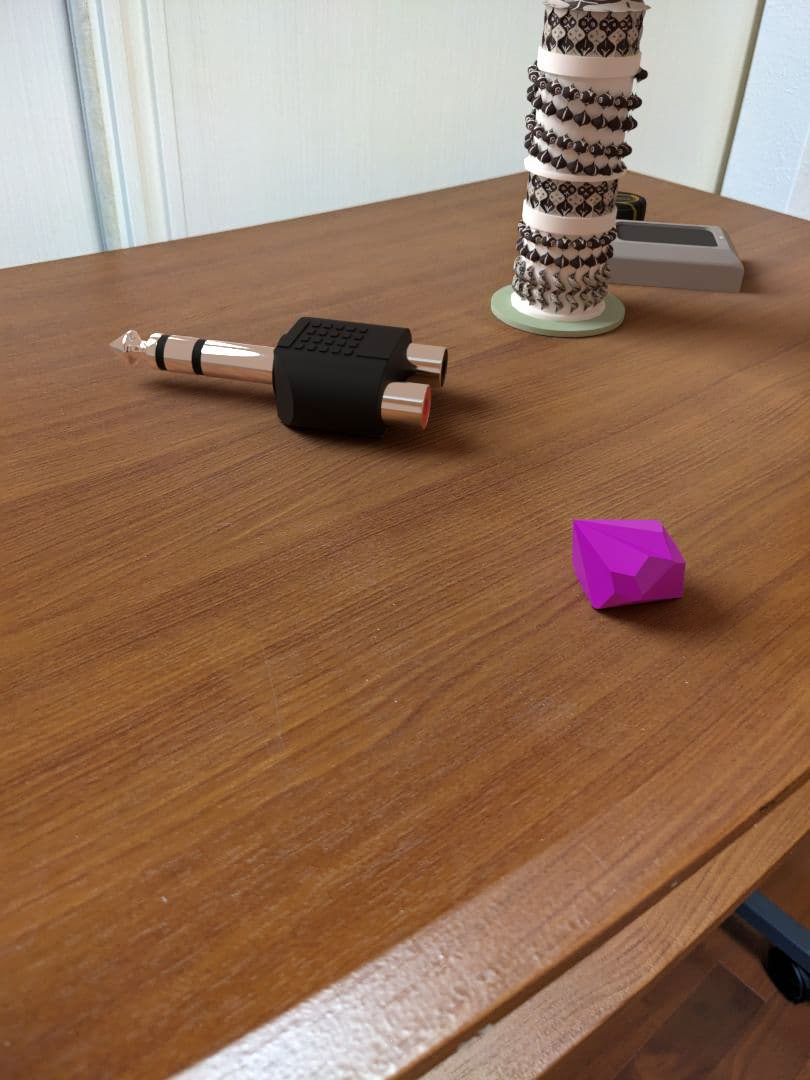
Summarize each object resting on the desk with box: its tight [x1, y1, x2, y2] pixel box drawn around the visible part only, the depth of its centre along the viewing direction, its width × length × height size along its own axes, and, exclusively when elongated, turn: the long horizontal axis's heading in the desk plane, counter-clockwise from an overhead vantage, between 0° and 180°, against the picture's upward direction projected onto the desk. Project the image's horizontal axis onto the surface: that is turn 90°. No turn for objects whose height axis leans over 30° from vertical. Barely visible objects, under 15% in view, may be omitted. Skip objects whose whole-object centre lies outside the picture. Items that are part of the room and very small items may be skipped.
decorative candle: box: [511, 0, 652, 322], centre depth 76 cm, size 9×9×25 cm
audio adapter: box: [107, 316, 449, 438], centre depth 67 cm, size 11×5×25 cm
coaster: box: [490, 283, 626, 338], centre depth 83 cm, size 12×12×1 cm
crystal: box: [571, 518, 686, 610], centre depth 49 cm, size 5×5×5 cm
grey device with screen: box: [606, 219, 745, 294], centre depth 92 cm, size 10×4×15 cm
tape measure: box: [615, 190, 647, 221], centre depth 102 cm, size 7×7×4 cm
